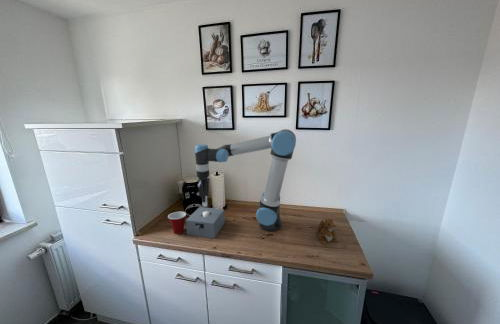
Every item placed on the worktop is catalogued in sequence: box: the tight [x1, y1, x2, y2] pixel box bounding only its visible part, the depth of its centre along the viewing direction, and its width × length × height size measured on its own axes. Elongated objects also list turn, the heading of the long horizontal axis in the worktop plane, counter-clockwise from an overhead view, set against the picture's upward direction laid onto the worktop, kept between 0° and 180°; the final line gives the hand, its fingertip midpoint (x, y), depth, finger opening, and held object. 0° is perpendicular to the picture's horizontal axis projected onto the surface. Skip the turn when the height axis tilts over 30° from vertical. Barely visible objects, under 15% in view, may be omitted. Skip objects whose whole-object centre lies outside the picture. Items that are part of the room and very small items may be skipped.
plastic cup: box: [167, 211, 187, 235], centre depth 126 cm, size 11×11×12 cm
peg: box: [203, 211, 210, 217], centre depth 130 cm, size 4×4×11 cm
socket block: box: [185, 206, 226, 239], centre depth 129 cm, size 18×18×10 cm
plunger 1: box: [195, 224, 203, 231], centre depth 121 cm, size 4×9×2 cm, turn 167°
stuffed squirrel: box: [316, 218, 338, 246], centre depth 118 cm, size 10×14×13 cm
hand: (205, 205), depth 127 cm, fingers closed
